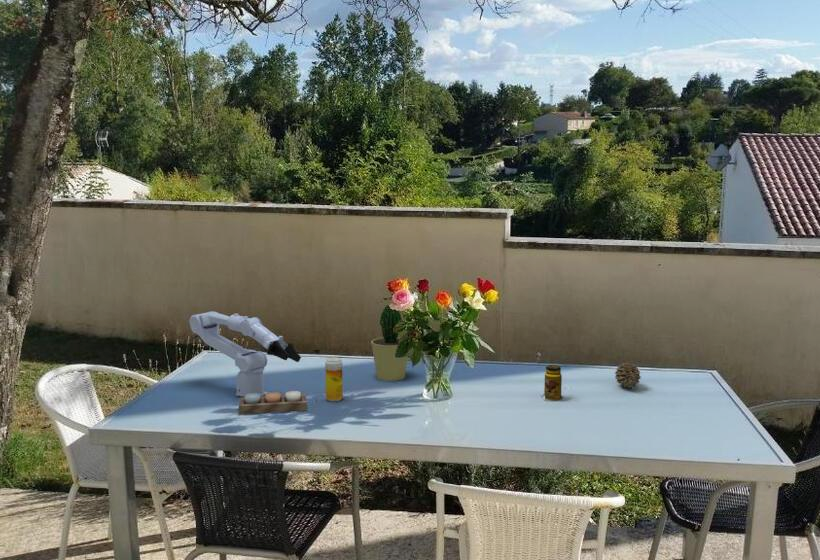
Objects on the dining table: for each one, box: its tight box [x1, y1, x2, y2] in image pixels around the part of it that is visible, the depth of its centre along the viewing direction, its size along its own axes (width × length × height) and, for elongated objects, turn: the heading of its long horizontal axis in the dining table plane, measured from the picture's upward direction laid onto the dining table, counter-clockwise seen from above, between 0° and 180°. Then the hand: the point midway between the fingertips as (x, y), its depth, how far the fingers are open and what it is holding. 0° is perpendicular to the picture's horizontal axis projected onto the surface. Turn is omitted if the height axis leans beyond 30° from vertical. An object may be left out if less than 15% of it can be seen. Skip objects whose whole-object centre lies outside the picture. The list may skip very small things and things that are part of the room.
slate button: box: [245, 393, 260, 404], centre depth 264 cm, size 5×5×3 cm
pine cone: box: [614, 362, 642, 389], centre depth 292 cm, size 22×10×10 cm, turn 174°
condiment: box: [541, 364, 565, 402], centre depth 276 cm, size 7×8×12 cm
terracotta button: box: [264, 391, 281, 403], centre depth 265 cm, size 5×5×3 cm
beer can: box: [324, 357, 344, 403], centre depth 275 cm, size 6×6×15 cm
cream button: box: [285, 390, 302, 402], centre depth 267 cm, size 5×5×3 cm
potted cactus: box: [370, 304, 409, 382], centre depth 303 cm, size 15×15×30 cm
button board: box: [238, 393, 308, 416], centre depth 266 cm, size 23×10×3 cm, turn 100°
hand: (293, 358), depth 268 cm, fingers open, 7 cm apart
